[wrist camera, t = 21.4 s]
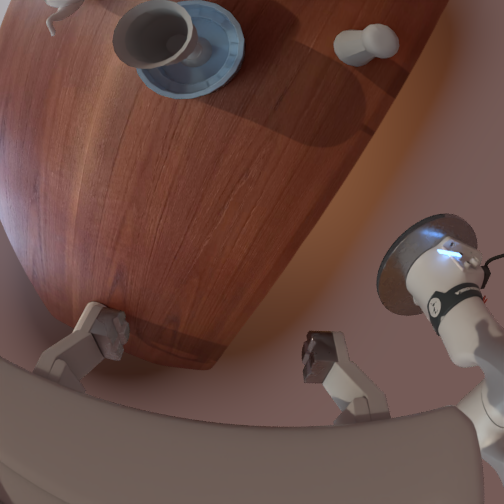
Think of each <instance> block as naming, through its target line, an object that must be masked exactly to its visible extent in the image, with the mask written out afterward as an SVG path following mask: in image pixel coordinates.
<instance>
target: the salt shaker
mask: <svg viewBox="0 0 504 504" xmlns="http://www.w3.org/2000/svg"><path fill="white" fill-rule="evenodd" d="M334 49H335V53H336V54H337V56H338V57H339V59H340V60H342V61H343V62H345V63H346V64H348V65H352V66H356V67H358V66H362V65H365V64H367V63H368V62H369V61H371V60H372V59H373V58H375V57H378V58H388V57H392V56H393V55H394V54H396V53H397V52H398V49H399V40H398V37H397V36H396V34H395V32H394V31H393V30H391V29H390V28H389V27H388V26H385V25H382V24H373V25H369V26H367V27H366V28H365V29H364V30H347V31H342V32H341V33H340V34H339V35H338V36H336V38H335V41H334Z"/></svg>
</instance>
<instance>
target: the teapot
mask: <svg viewBox="0 0 504 504" xmlns="http://www.w3.org/2000/svg"><path fill="white" fill-rule="evenodd" d="M45 2H46V4H47V5H49V6H51V7H54V8H58V11H57V12H56V13H54V14H52V15H51V16H49V17H48V19H47V21H46V24H47V26H48V28H49V31H50V33H51V36H54V35H55V33H56V30H55V28H54V26H53V24H52V23H53V21H61V20H63V19H65V18H67V17H69V16H70V15H72V14H73V13H74V12H75V11H77V10H78V9H79V7H80V6H81V5H82V3H83V2H84V0H45Z"/></svg>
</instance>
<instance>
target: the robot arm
mask: <svg viewBox="0 0 504 504" xmlns="http://www.w3.org/2000/svg"><path fill="white" fill-rule="evenodd" d="M502 257H504V254H501V255H498V256H495V257H492V258H490V259H489V260H487V262H486V263H485V265H484V266H480V264H481V260H482V253H481V252H480V251H479V250H477V249H475V248H473V247H471V246H469V245H467V244H465V243H463V242H461V241H459V240H457V239H455V238H453V237H450V236H447V237H446V238H444V239H443V240H442V241H441V242H440V243H439V244H438V245H437V246H435V247H433V248H431V249H429V250H427V251H426V252H425V253H423V254H422V255H421V256H420V257H419V258H418V259H417V260H416V261H415V262H414V264H413V265H412V266H411V268H410V270H409V272H408V275H407V278H406V287H407V290H408V291H409V293H410V294H411V295H412V296H413V301H414V303H415V304H416V305H417V306H418V305H419V306H420V308H421V309H422V311H423V312H424V314H425V315H426V317H427V318H428V320H429V321H430V322H431V323H432V326H433V329H434V330H435V332H436V333H437V335H438V336H440V337H441V339H442V341H443V343H444V345H445V347H446V349H447V352H448V354H449V356H450V358H451V360H452V362H453V363H454V364H456V365H458V366H460V367H472V366H476V365H479V366H480V368H481V369H482V370H483V372H484V374H485V378H484V380H483V381H481V382H480V383H479V384H478V385H477V386H476V387H475V388H474V389H473V390H472V391H470V392H469V393H468V394H467V395H466V396H465V397H464V398H463V399H461V401H460V402H459V403H458V404H457V405H456V406H452V405H451V406H445V407H441V408H438V409H434V410H430V411H426V412H421V413H417V414H412V415H407V416H402V417H396V418H391V417H390V413H389V408H388V404H387V400H386V395H385V394H384V393H383V392H382V391H381V390H380V389H379V388H378V387H377V385H376V384H374V382H373V381H372V380H371V379H370V378H369V377H368V376H367V375H366V374H365V373H364V372H363V371H362V370H361V369H360V368H359V367H358V366H357V365H356V364H355V363H354V362H352V361H350V359H349V355H348V351H347V346H346V342H345V338H344V334H343V332H333V331H332V332H331V331H309V332H308V334H307V341H305V342H304V345H303V348H302V362H303V363H304V365H305V367H304V369H303V376H304V383H323V384H322V385H323V386H324V387H325V389H326V390H327V392H328V393H329V394H330V396H331V397H332V398H333V400H334V401H335V403H336V404H337V405H338V407H339V408H340V409H341V411H342V413H341V414H340V415H339V416H338V417H337V419H336V420H335V421H334V425H330V426H309V427H270V426H248V425H235V424H223V423H215V422H206V421H199V420H192V419H186V418H179V417H173V416H168V415H163V414H159V413H154V412H149V411H145V410H140V409H136V408H132V407H128V406H124V405H121V404H117V403H114V402H110V401H107V400H104V399H100V398H97V397H94V396H91V395H88V394H85V388H84V386H83V385H82V384H81V383H80V380H81V379H82V378H83V377H84V376H85V375H86V374H87V373H88V372H90V371H91V370H92V369H93V368H94V367H95V366H96V365H97V364H99V363H100V362H101V361H102V360H103V359H104V358H108V359H113V360H117V361H120V359H121V356H122V354H123V351H124V348H123V345H124V344H125V343H127V341H128V338H129V333H130V328H129V324H128V322H127V321H126V320H125V318H126V315H125V312H124V311H121V310H116V309H111V308H107V307H102V306H97V305H95V306H93V307H92V309H91V311H90V312H89V314H88V316H87V318H86V320H85V321H84V323H83V325H82V327H81V329H80V330H76V331H75V332H73V333H72V334H70V335H68V336H67V337H66V338H64V339H62V340H61V341H59V342H58V343H56V344H55V345H53V346H52V347H50V348H49V349H47V350H46V351H44V352H43V353H42V355H41V357H40V359H39V361H38V362H37V364H36V366H35V368H34V371H33V372H30V371H28V370H26V369H24V368H22V367H20V366H18V365H16V364H14V363H12V362H10V361H8V360H6V359H4V358H2V357H1V356H0V504H484V477H483V466H482V459H484V460H485V461H486V462H488V463H489V464H490V465H491V466H492V467H493V468H494V469H495V471H496V472H497V474H498V475H499V478H500V480H501V482H502V484H503V486H504V328H503V327H501V326H500V325H499V323H498V322H497V321H496V319H495V318H494V317H493V315H492V314H491V313H490V311H489V310H488V308H487V307H486V306H485V302H486V301H487V299H486V300H485V297H486V296H484V297H483V298H482V294H481V291H480V289H484V287H485V285H486V283H487V281H488V279H489V276H490V274H491V273H490V270H489V268H488V266H487V265H488V264H489V263H490V262H491V261H493V260H496V259H499V258H502ZM484 300H485V301H484Z"/></svg>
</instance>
